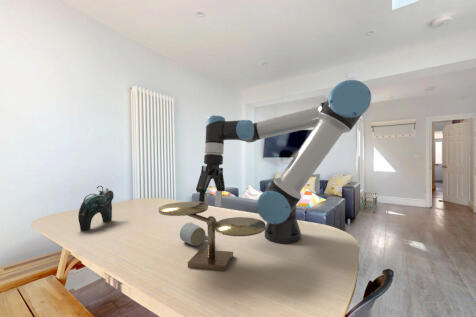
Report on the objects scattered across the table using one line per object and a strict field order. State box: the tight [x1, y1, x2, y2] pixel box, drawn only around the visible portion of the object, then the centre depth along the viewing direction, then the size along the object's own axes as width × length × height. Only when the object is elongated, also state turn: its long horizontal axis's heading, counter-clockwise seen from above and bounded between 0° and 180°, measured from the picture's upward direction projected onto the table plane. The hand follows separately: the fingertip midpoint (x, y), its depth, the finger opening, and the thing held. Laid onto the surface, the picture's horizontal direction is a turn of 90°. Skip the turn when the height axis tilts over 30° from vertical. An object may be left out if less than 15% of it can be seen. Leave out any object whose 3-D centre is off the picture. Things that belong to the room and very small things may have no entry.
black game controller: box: [77, 185, 115, 232], centre depth 112 cm, size 20×6×20 cm, turn 172°
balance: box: [158, 201, 267, 272], centre depth 71 cm, size 35×16×18 cm, turn 77°
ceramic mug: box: [179, 222, 208, 247], centre depth 87 cm, size 11×8×8 cm
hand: (210, 208), depth 86 cm, fingers open, 12 cm apart
